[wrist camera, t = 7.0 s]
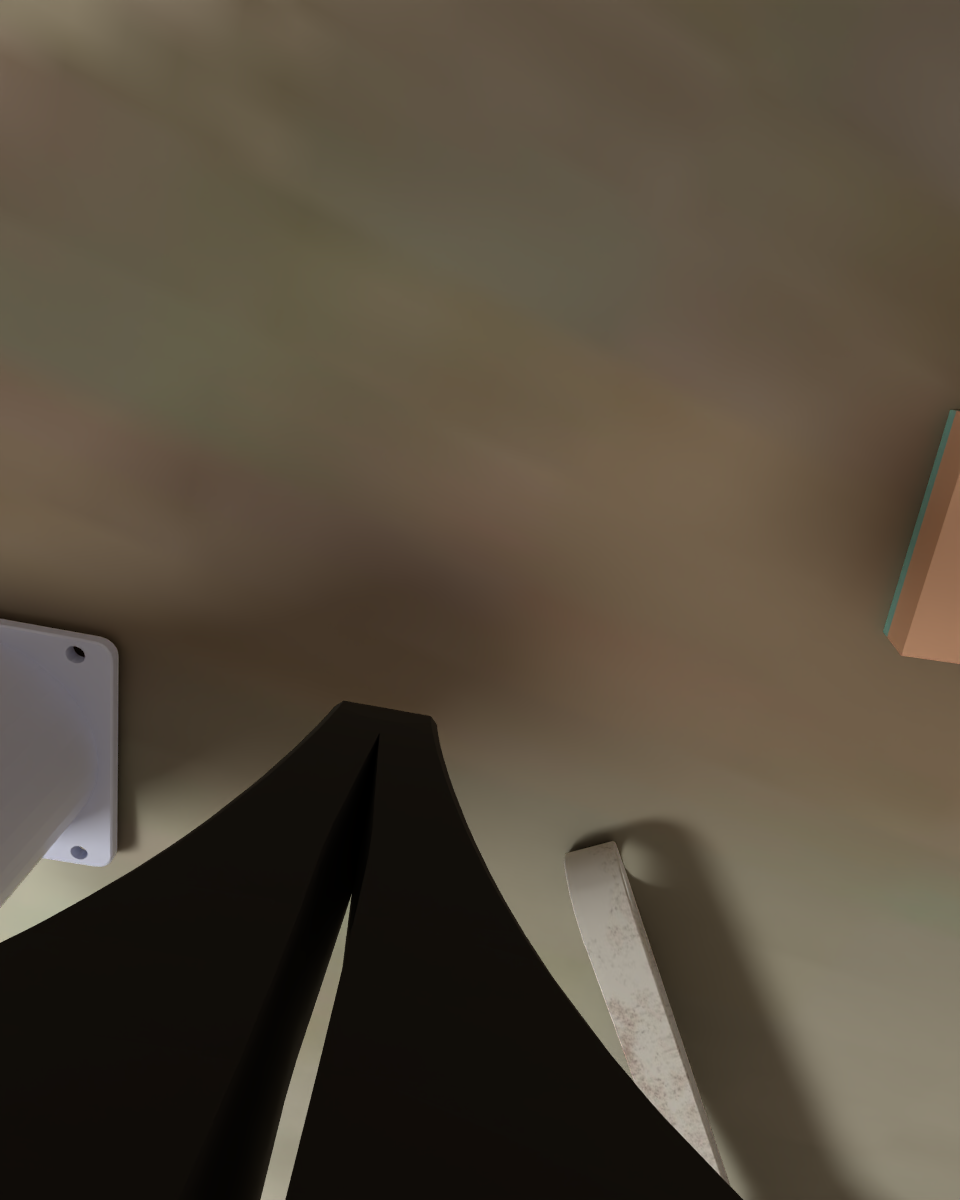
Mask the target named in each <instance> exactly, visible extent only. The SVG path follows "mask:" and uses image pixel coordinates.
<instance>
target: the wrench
mask: <svg viewBox="0 0 960 1200" xmlns="http://www.w3.org/2000/svg"><path fill="white" fill-rule="evenodd" d="M564 867H565V874H566V880H567V884H568V889H569V894H570V898H571V902H572V906H573V910H574V913H575V917H576V920H577V924H578V927H579V930H580V933H581V936H582V939H583V942H584V945H585V947H586V950H587V953H588V956H589V958H590V961H591V964H592V967H593V969H594V972H595V975H596V978H597V980H598V983H599V986H600V989H601V991H602V994H603V997H604V1000H605V1002H606V1005H607V1008H608V1011H609V1013H610V1016H611V1019H612V1022H613V1024H614V1027H615V1030H616V1033H617V1035H618V1038H619V1041H620V1044H621V1046H622V1049H623V1052H624V1055H625V1057H626V1060H627V1063H628V1066H629V1068H630V1071H631V1074H632V1077H633V1079H634V1082H635V1084H636V1085H637V1086H638V1088H639V1089H640V1090H641V1091H642V1092H643V1093H644V1095H645V1096H646V1097H647V1098H648V1099H649V1101H650V1102H651V1103H652V1104H653V1105H654V1106H655V1107H656V1108H657V1110H658V1111H659V1112H660V1113H661V1114H662V1115H663V1116H664V1117H665V1119H666V1120H667V1121H668V1122H669V1123H670V1124H671V1125H672V1126H673V1127H674V1128H675V1129H676V1130H677V1131H678V1132H679V1133H680V1134H681V1135H682V1136H683V1137H684V1138H685V1139H686V1141H687V1142H688V1143H689V1144H690V1145H691V1146H692V1147H693V1148H694V1149H695V1150H696V1151H697V1152H698V1153H699V1154H700V1155H701V1156H702V1157H703V1158H704V1159H705V1160H706V1161H707V1162H708V1164H709V1165H710V1166H711V1167H712V1168H713V1169H714V1170H715V1171H716V1172H717V1173H718V1174H719V1175H720V1176H721V1177H722V1178H723V1179H724V1180H725V1181H726V1182H727V1183H728V1184H729V1186H730V1183H729V1180H728V1177H727V1174H726V1171H725V1168H724V1165H723V1162H722V1159H721V1156H720V1153H719V1150H718V1147H717V1144H716V1141H715V1138H714V1135H713V1132H712V1129H711V1126H710V1123H709V1120H708V1117H707V1114H706V1111H705V1108H704V1105H703V1102H702V1099H701V1096H700V1093H699V1090H698V1087H697V1084H696V1081H695V1078H694V1075H693V1072H692V1069H691V1066H690V1063H689V1060H688V1057H687V1054H686V1051H685V1048H684V1045H683V1042H682V1039H681V1036H680V1033H679V1030H678V1027H677V1024H676V1021H675V1018H674V1015H673V1012H672V1009H671V1006H670V1003H669V1000H668V997H667V994H666V991H665V988H664V985H663V982H662V979H661V976H660V973H659V970H658V967H657V964H656V961H655V958H654V955H653V952H652V949H651V946H650V943H649V940H648V937H647V934H646V931H645V928H644V925H643V922H642V919H641V916H640V913H639V910H638V907H637V904H636V901H635V898H634V895H633V892H632V889H631V886H630V883H629V880H628V877H627V874H626V871H625V868H624V865H623V862H622V859H621V856H620V854H619V851H618V848H617V845H616V843H615V842H614V841H611V842H607V843H603V844H600V845H596V846H592V847H588V848H584V849H580V850H577V851H573V852H569V853H565V855H564ZM730 1187H731V1186H730Z"/></svg>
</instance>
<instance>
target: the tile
mask: <svg viewBox="0 0 960 1200" xmlns="http://www.w3.org/2000/svg"><path fill="white" fill-rule="evenodd" d="M883 632H884V634H885V635H886V636H887V638H888V639H889V640H890V642H891V643H892V644H893V645H894V647H895V648H896V649H897V651H898V652H899V653H900V655H901V656H907V657H914V658H921V659H928V660H935V661H942V662H949V663H956V664H960V410H950V412H949V416H948V419H947V422H946V426H945V429H944V432H943V435H942V439H941V442H940V445H939V449H938V452H937V455H936V459H935V462H934V465H933V468H932V472H931V475H930V478H929V482H928V485H927V488H926V492H925V495H924V498H923V501H922V505H921V508H920V511H919V515H918V518H917V521H916V525H915V528H914V531H913V534H912V538H911V541H910V544H909V548H908V551H907V554H906V558H905V561H904V564H903V567H902V571H901V574H900V577H899V581H898V584H897V587H896V591H895V594H894V597H893V600H892V604H891V607H890V610H889V614H888V617H887V620H886V624H885V627H884V630H883Z"/></svg>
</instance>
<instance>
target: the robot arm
mask: <svg viewBox="0 0 960 1200" xmlns="http://www.w3.org/2000/svg"><path fill="white" fill-rule="evenodd" d="M73 646H76V647H78V648H80V649H81V650H82V651H83V652H84V654H85V657H82V656H80V655H78V654H77V653H76V652H75V650H74V647H73ZM118 673H119V655H118V651H117V648H116V647H115V645H114V644H113V643H112V642H111V641H109V640H108V639H106V638H103V637H100V636H94V635H89V634H83V633H78V632H72V631H67V630H61V629H56V628H50V627H45V626H39V625H33V624H28V623H22V622H17V621H11V620H6V619H0V908H1V907H2V905H3V904H4V903H5V902H6V901H7V899H8V898H9V897H10V896H11V895H12V893H13V892H14V891H15V890H16V889H17V887H18V886H19V885H20V884H21V883H22V881H23V880H24V879H25V878H26V877H27V875H28V874H29V873H30V872H31V871H32V869H33V868H34V867H35V866H36V865H37V863H38V862H39V861H40V860H41V859H42V858H45V859H51V860H58V861H64V862H70V863H77V864H83V865H89V866H96V867H103V866H106V865H108V864H109V863H110V862H111V861H112V860H113V858H114V857H115V855H116V853H117V815H118ZM79 846H80V847H83V848H84V849H85V850H84V849H81V848H80V847H79ZM351 894H352V896H351ZM350 897H351V904H350V912H349V920H348V928H347V936H346V944H345V952H344V960H343V968H342V972H341V976H340V981H339V985H338V989H337V993H336V997H335V1001H334V1005H333V1010H332V1014H331V1018H330V1022H329V1026H328V1030H327V1034H326V1038H325V1043H324V1047H323V1051H322V1055H321V1059H320V1063H319V1067H318V1071H317V1075H316V1079H315V1083H314V1087H313V1091H312V1095H311V1099H310V1104H309V1108H308V1112H307V1116H306V1120H305V1124H304V1128H303V1132H302V1136H301V1140H300V1144H299V1148H298V1152H297V1156H296V1160H295V1164H294V1168H293V1172H292V1176H291V1180H290V1184H289V1188H288V1192H287V1196H286V1200H743V1199H742V1198H741V1197H740V1196H739V1195H738V1194H737V1193H736V1192H735V1191H734V1190H733V1189H732V1188H731V1187H730V1186H729V1184H728V1183H727V1182H726V1181H725V1180H724V1179H723V1178H722V1177H721V1176H720V1175H719V1174H718V1173H717V1172H716V1171H715V1170H714V1169H713V1168H712V1167H711V1166H710V1165H709V1164H708V1162H707V1161H706V1160H705V1159H704V1158H703V1157H702V1156H701V1155H700V1154H699V1153H698V1152H697V1151H696V1150H695V1149H694V1148H693V1147H692V1146H691V1145H690V1144H689V1143H688V1142H687V1141H686V1139H685V1138H684V1137H683V1136H682V1135H681V1134H680V1133H679V1132H678V1131H677V1130H676V1129H675V1128H674V1127H673V1126H672V1125H671V1124H670V1123H669V1122H668V1121H667V1120H666V1119H665V1117H664V1116H663V1115H662V1114H661V1113H660V1112H659V1111H658V1110H657V1108H656V1107H655V1106H654V1105H653V1104H652V1103H651V1102H650V1101H649V1099H648V1098H647V1097H646V1096H645V1095H644V1093H643V1092H642V1091H641V1090H640V1089H639V1088H638V1086H637V1085H636V1084H635V1083H634V1082H633V1080H632V1079H631V1078H630V1077H629V1076H628V1075H627V1073H626V1072H625V1071H624V1070H623V1069H622V1067H621V1066H620V1065H619V1064H618V1063H617V1062H616V1060H615V1059H614V1058H613V1057H612V1056H611V1054H610V1053H609V1052H608V1050H607V1049H606V1048H605V1046H604V1045H603V1044H602V1042H601V1041H600V1040H599V1038H598V1037H597V1036H596V1034H595V1033H594V1032H593V1030H592V1029H591V1028H590V1026H589V1025H588V1024H587V1022H586V1021H585V1020H584V1018H583V1017H582V1016H581V1014H580V1013H579V1012H578V1010H577V1009H576V1008H575V1006H574V1005H573V1004H572V1002H571V1001H570V1000H569V998H568V997H567V996H566V994H565V993H564V992H563V990H562V989H561V988H560V986H559V985H558V984H557V982H556V981H555V980H554V978H553V977H552V975H551V974H550V972H549V971H548V969H547V968H546V966H545V965H544V963H543V962H542V960H541V959H540V957H539V956H538V954H537V952H536V951H535V949H534V948H533V946H532V945H531V943H530V942H529V940H528V939H527V937H526V936H525V934H524V932H523V931H522V929H521V927H520V926H519V924H518V922H517V920H516V919H515V917H514V915H513V914H512V912H511V910H510V909H509V907H508V905H507V904H506V902H505V900H504V898H503V896H502V895H501V893H500V891H499V889H498V887H497V885H496V883H495V882H494V880H493V878H492V876H491V874H490V872H489V870H488V868H487V866H486V864H485V862H484V860H483V858H482V855H481V853H480V851H479V849H478V847H477V845H476V843H475V841H474V839H473V836H472V834H471V832H470V829H469V827H468V825H467V823H466V820H465V818H464V815H463V812H462V810H461V807H460V805H459V802H458V800H457V797H456V795H455V792H454V789H453V786H452V784H451V781H450V778H449V775H448V772H447V768H446V765H445V762H444V758H443V755H442V751H441V747H440V742H439V737H438V731H437V724H436V723H435V722H434V720H433V719H432V717H431V716H426V715H421V714H415V713H409V712H404V711H398V710H393V709H387V708H381V707H376V706H370V705H365V704H359V703H353V702H348V701H343V702H341V703H340V704H338V705H336V706H335V707H334V708H333V709H332V710H331V711H330V712H329V714H328V715H327V716H326V717H325V718H324V719H323V720H322V721H321V722H320V723H319V724H318V725H317V726H316V727H315V728H314V729H313V730H312V731H311V732H310V733H309V734H308V735H307V736H306V737H305V738H304V739H303V740H302V741H301V742H300V743H299V744H298V745H297V746H296V747H295V748H294V749H293V750H292V751H291V752H290V753H288V754H287V755H286V756H285V757H284V758H283V759H282V760H281V761H279V762H278V763H277V764H276V765H275V766H274V767H273V768H272V769H270V770H269V771H268V772H267V773H266V774H265V775H264V776H263V777H261V778H260V779H259V780H258V781H257V782H255V783H254V784H253V785H252V786H251V787H249V788H248V789H247V790H245V791H244V792H243V793H242V794H240V795H239V796H238V797H236V798H235V799H234V800H233V801H231V802H230V803H229V804H227V805H226V806H225V807H224V808H222V809H221V810H220V811H219V812H217V813H216V814H215V815H213V816H212V817H211V818H210V819H208V820H207V821H205V822H204V823H203V824H201V825H200V826H198V827H197V828H196V829H194V830H193V831H191V832H190V833H189V834H187V835H186V836H184V837H183V838H181V839H180V840H179V841H177V842H176V843H174V844H173V845H171V846H170V847H168V848H167V849H165V850H164V851H162V852H160V853H159V854H157V855H156V856H154V857H153V858H151V859H150V860H148V861H147V862H145V863H143V864H142V865H140V866H139V867H137V868H136V869H134V870H132V871H131V872H129V873H127V874H126V875H124V876H122V877H121V878H119V879H117V880H115V881H114V882H112V883H110V884H109V885H107V886H105V887H103V888H102V889H100V890H98V891H97V892H95V893H93V894H91V895H90V896H88V897H86V898H85V899H83V900H81V901H79V902H77V903H76V904H74V905H72V906H70V907H68V908H66V909H65V910H63V911H61V912H59V913H57V914H56V915H54V916H52V917H50V918H48V919H47V920H45V921H43V922H41V923H39V924H37V925H35V926H33V927H31V928H29V929H27V930H25V931H23V932H21V933H19V934H17V935H15V936H13V937H11V938H9V939H7V940H5V941H3V942H1V943H0V1200H260V1199H261V1195H262V1191H263V1187H264V1183H265V1178H266V1174H267V1170H268V1166H269V1162H270V1158H271V1154H272V1150H273V1146H274V1142H275V1138H276V1134H277V1130H278V1126H279V1122H280V1118H281V1113H282V1109H283V1105H284V1101H285V1098H286V1094H287V1091H288V1087H289V1084H290V1081H291V1077H292V1074H293V1070H294V1067H295V1063H296V1060H297V1057H298V1054H299V1051H300V1048H301V1045H302V1042H303V1039H304V1036H305V1033H306V1030H307V1027H308V1024H309V1021H310V1018H311V1015H312V1012H313V1009H314V1006H315V1003H316V1000H317V997H318V994H319V991H320V988H321V985H322V982H323V979H324V976H325V973H326V970H327V967H328V964H329V961H330V958H331V955H332V952H333V949H334V946H335V943H336V940H337V937H338V934H339V931H340V928H341V925H342V922H343V919H344V916H345V913H346V910H347V906H348V903H349V900H350Z"/></svg>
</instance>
